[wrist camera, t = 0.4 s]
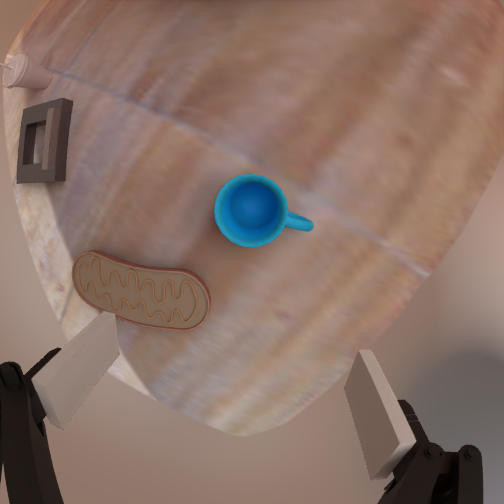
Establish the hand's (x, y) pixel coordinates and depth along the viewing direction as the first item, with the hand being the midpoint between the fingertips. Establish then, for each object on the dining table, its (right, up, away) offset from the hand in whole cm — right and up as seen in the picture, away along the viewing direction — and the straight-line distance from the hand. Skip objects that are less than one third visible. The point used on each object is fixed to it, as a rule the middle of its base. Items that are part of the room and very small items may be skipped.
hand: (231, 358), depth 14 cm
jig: (-35, +25, +24) cm, 49 cm away
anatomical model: (-16, +1, +29) cm, 33 cm away
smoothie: (-38, +38, +21) cm, 57 cm away
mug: (+3, +11, +25) cm, 28 cm away
